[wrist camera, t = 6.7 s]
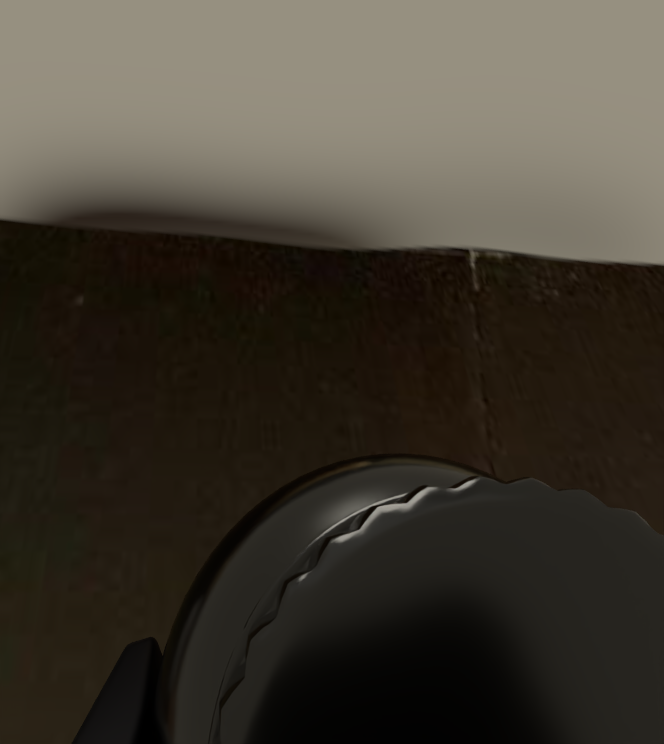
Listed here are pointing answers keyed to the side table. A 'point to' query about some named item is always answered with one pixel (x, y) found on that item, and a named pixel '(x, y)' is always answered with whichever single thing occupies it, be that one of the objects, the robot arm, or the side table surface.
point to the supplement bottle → (420, 616)
